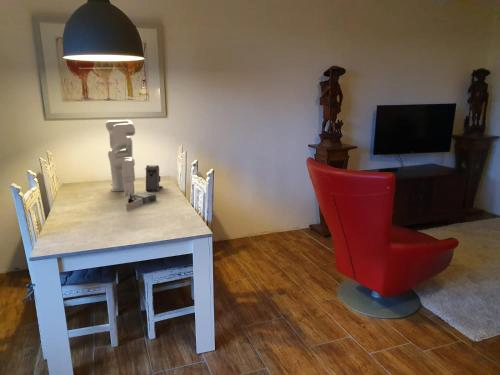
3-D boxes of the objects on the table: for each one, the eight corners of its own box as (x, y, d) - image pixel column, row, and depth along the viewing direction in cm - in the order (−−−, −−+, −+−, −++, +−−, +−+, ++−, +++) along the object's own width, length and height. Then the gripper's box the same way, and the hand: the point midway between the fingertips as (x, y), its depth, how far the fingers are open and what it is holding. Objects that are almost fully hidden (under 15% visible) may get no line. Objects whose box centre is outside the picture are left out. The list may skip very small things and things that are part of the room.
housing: (133, 201, 260) (133, 193, 258) (145, 197, 268) (144, 190, 266) (145, 204, 252) (145, 196, 251) (157, 200, 260) (156, 193, 259)
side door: (127, 211, 237) (127, 204, 236) (126, 211, 237) (125, 204, 236) (144, 203, 253) (143, 197, 252) (142, 203, 253) (142, 196, 252)
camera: (164, 191, 298) (164, 166, 298) (157, 191, 281) (157, 165, 281) (151, 191, 299) (151, 166, 299) (143, 191, 282) (143, 165, 282)
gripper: (124, 176, 247) (127, 202, 252) (120, 181, 233) (123, 209, 237) (136, 175, 248) (138, 202, 253) (133, 181, 234) (135, 209, 238)
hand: (131, 205), depth 245 cm, fingers closed
